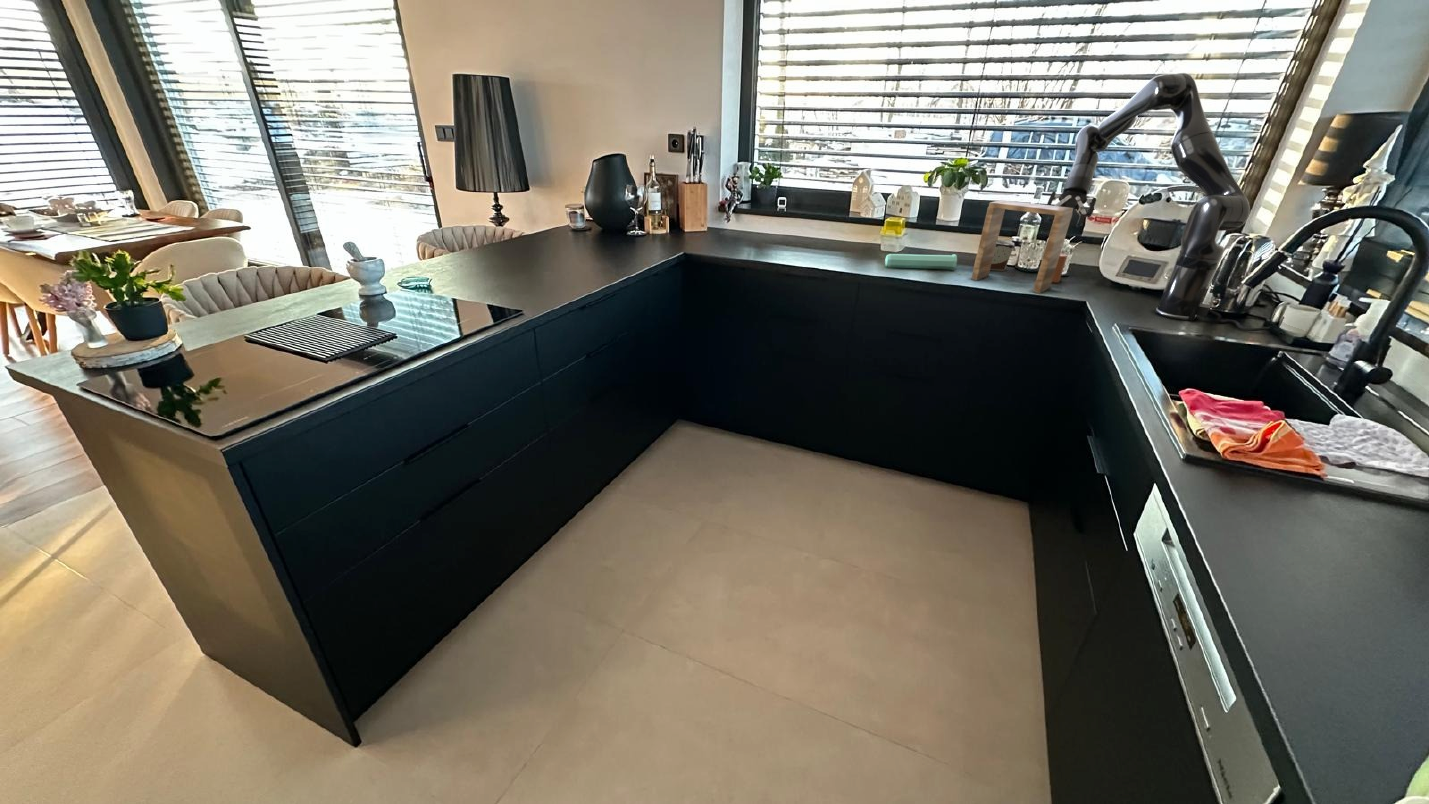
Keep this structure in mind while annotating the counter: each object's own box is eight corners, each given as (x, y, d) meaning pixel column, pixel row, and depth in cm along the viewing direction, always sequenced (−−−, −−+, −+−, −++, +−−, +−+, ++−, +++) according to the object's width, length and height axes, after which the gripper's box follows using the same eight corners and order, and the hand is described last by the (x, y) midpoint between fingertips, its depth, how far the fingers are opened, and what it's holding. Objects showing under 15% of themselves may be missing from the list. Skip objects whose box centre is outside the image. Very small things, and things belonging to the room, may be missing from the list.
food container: (1002, 266, 211) (1009, 239, 207) (1008, 270, 206) (1016, 243, 201) (969, 265, 212) (975, 238, 208) (974, 269, 207) (981, 241, 202)
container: (887, 251, 203) (957, 252, 201) (883, 253, 209) (952, 255, 207) (886, 267, 203) (956, 269, 201) (882, 269, 209) (951, 271, 207)
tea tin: (1061, 280, 194) (1069, 254, 190) (1056, 283, 191) (1064, 257, 187) (1045, 277, 198) (1053, 252, 194) (1040, 280, 194) (1047, 254, 190)
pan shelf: (1049, 288, 186) (1074, 208, 174) (1039, 293, 179) (1063, 210, 168) (982, 274, 200) (1001, 199, 188) (970, 279, 193) (989, 202, 182)
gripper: (1058, 172, 191) (1043, 214, 190) (1105, 178, 186) (1090, 222, 185) (1053, 184, 198) (1039, 225, 197) (1099, 190, 193) (1084, 233, 192)
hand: (1063, 223), depth 191 cm, fingers open, 8 cm apart
